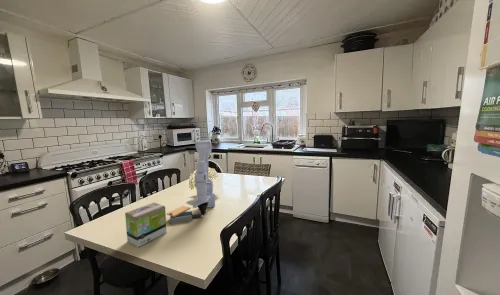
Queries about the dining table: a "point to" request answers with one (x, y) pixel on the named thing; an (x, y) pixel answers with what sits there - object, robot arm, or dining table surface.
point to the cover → (178, 211)
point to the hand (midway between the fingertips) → (203, 214)
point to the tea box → (145, 223)
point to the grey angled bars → (181, 217)
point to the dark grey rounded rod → (196, 215)
